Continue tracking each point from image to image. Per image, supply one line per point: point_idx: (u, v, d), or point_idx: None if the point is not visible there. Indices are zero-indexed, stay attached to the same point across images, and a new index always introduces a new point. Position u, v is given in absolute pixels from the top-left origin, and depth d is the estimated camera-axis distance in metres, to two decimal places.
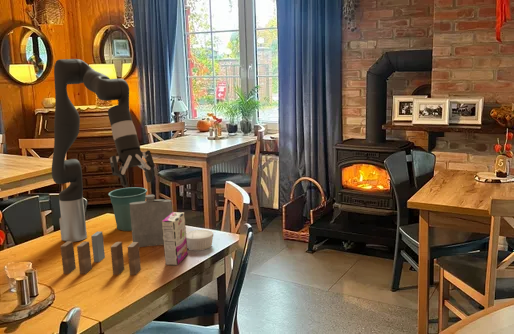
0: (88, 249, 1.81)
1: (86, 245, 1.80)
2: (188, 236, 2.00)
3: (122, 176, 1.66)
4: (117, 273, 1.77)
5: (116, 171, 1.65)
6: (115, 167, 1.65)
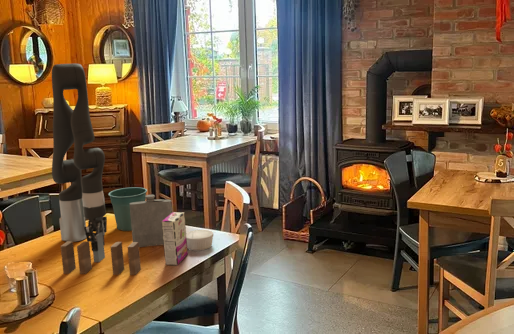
0: (88, 249, 1.81)
1: (86, 245, 1.80)
2: (188, 236, 2.00)
3: (95, 242, 1.87)
4: (117, 273, 1.77)
5: (93, 239, 1.85)
6: (93, 236, 1.84)
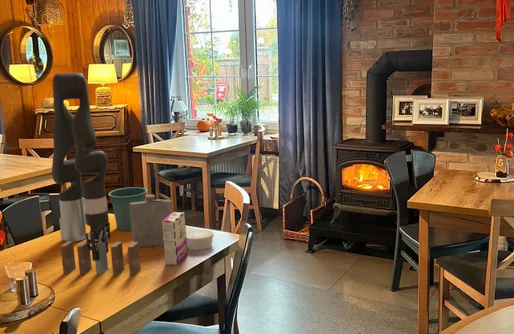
0: None
1: (86, 245, 1.80)
2: (188, 236, 2.00)
3: (96, 251, 1.75)
4: (117, 273, 1.77)
5: (94, 248, 1.72)
6: (94, 244, 1.72)
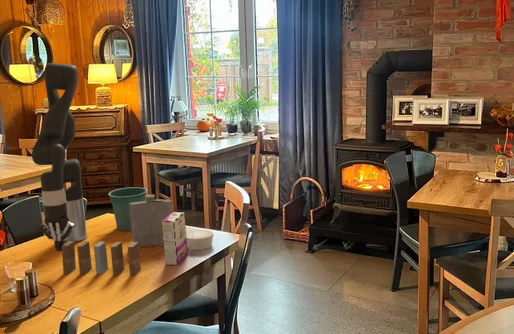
0: (88, 249, 1.81)
1: (86, 245, 1.80)
2: (188, 236, 2.00)
3: (55, 241, 1.80)
4: (117, 273, 1.77)
5: (48, 237, 1.79)
6: (46, 234, 1.79)
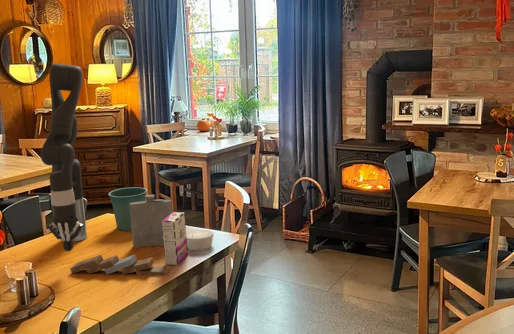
0: None
1: None
2: (188, 236, 2.00)
3: (63, 241, 1.80)
4: (123, 273, 1.77)
5: (57, 237, 1.79)
6: (55, 234, 1.79)
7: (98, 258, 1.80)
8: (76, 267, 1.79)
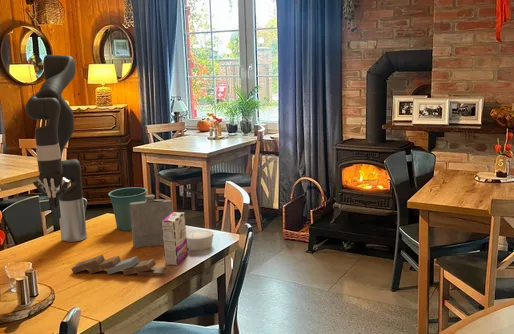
0: None
1: None
2: (188, 236, 2.00)
3: (49, 198, 1.77)
4: (125, 274, 1.76)
5: (43, 194, 1.77)
6: (40, 191, 1.77)
7: (99, 258, 1.80)
8: (77, 267, 1.79)
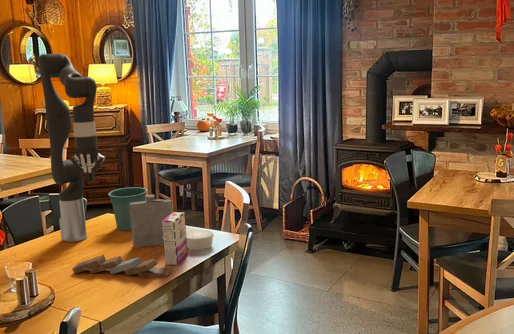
0: None
1: None
2: (188, 236, 2.00)
3: (85, 173, 1.86)
4: (127, 274, 1.76)
5: (79, 169, 1.86)
6: (77, 166, 1.86)
7: (101, 258, 1.80)
8: (79, 267, 1.79)
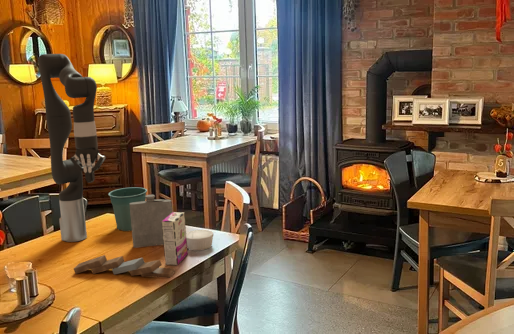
0: None
1: None
2: (188, 236, 2.00)
3: (85, 173, 1.86)
4: (131, 274, 1.75)
5: (79, 169, 1.86)
6: (77, 166, 1.86)
7: (102, 258, 1.80)
8: (80, 267, 1.79)
